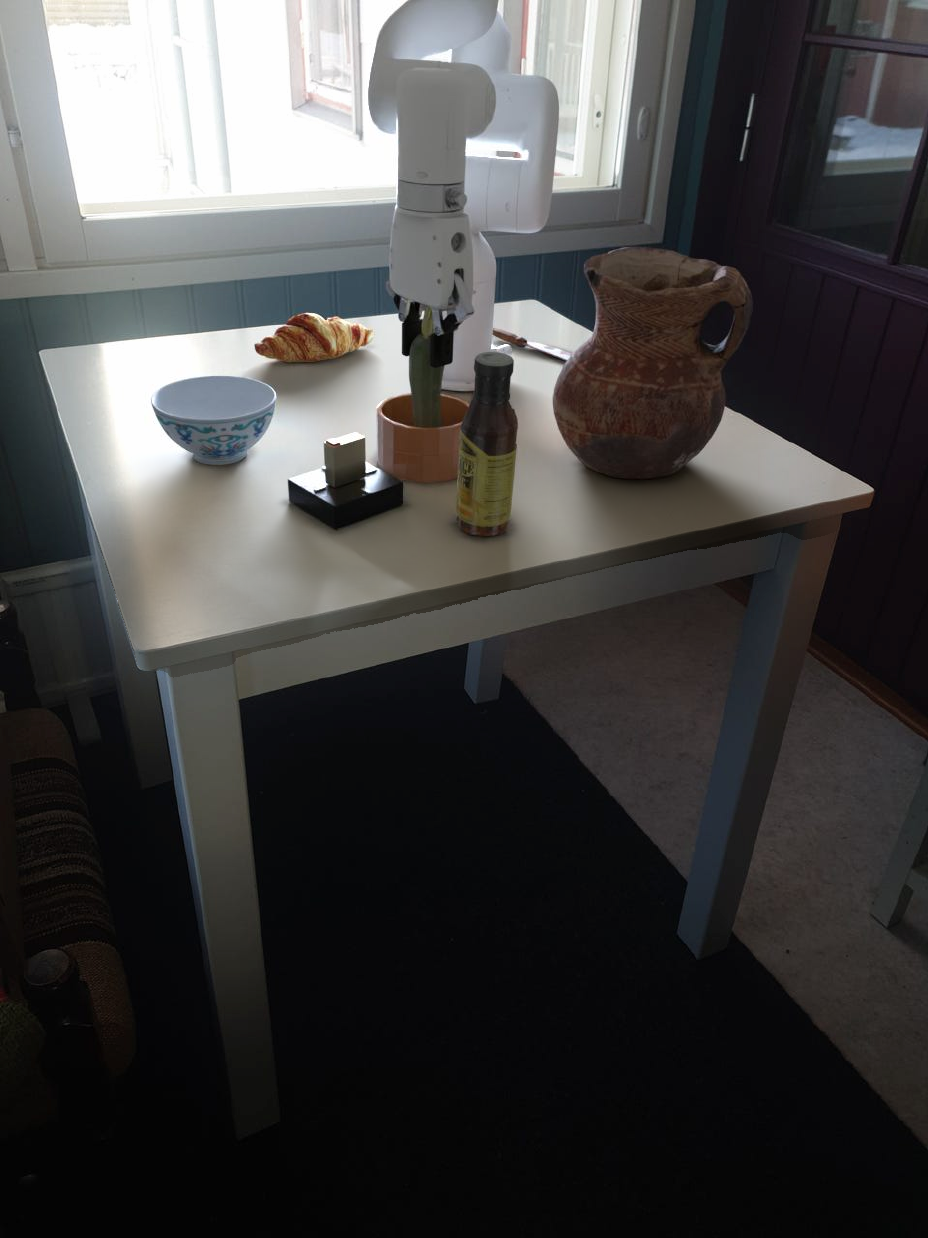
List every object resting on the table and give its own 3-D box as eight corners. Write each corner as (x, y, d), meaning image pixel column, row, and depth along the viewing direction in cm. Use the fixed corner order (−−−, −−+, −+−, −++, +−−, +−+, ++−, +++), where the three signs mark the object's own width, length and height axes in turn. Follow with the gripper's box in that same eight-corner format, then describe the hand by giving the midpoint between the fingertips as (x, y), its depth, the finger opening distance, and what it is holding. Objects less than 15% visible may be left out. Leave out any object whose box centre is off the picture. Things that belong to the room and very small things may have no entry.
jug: (567, 496, 117) (591, 286, 103) (530, 429, 134) (547, 240, 120) (739, 490, 120) (785, 286, 107) (682, 425, 138) (714, 242, 124)
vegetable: (437, 468, 121) (441, 308, 110) (404, 464, 122) (405, 305, 111) (445, 454, 125) (450, 298, 114) (412, 450, 126) (414, 295, 115)
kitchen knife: (600, 359, 158) (582, 362, 155) (598, 369, 159) (580, 372, 156) (507, 324, 170) (488, 325, 167) (505, 333, 171) (486, 335, 167)
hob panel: (356, 479, 119) (355, 455, 117) (403, 504, 113) (403, 480, 112) (288, 502, 113) (287, 477, 111) (335, 530, 107) (334, 505, 106)
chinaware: (178, 428, 129) (170, 372, 125) (289, 434, 129) (286, 378, 125) (144, 476, 117) (134, 416, 113) (267, 482, 117) (262, 422, 112)
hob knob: (356, 471, 113) (355, 430, 110) (366, 477, 112) (365, 435, 109) (325, 482, 111) (323, 440, 108) (334, 488, 109) (333, 445, 107)
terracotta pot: (428, 435, 131) (429, 385, 127) (491, 465, 124) (495, 413, 120) (357, 458, 124) (356, 406, 120) (420, 491, 116) (421, 437, 113)
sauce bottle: (453, 513, 112) (460, 345, 101) (506, 513, 113) (519, 346, 102) (457, 541, 107) (465, 366, 96) (513, 541, 107) (527, 367, 96)
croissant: (364, 359, 166) (353, 312, 164) (392, 346, 157) (381, 297, 156) (250, 377, 155) (237, 327, 153) (274, 365, 146) (260, 311, 145)
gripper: (508, 206, 103) (498, 372, 114) (406, 181, 113) (405, 336, 123) (457, 214, 99) (451, 385, 109) (355, 187, 109) (359, 347, 119)
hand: (427, 357), depth 116 cm, fingers closed on vegetable, 4 cm apart
